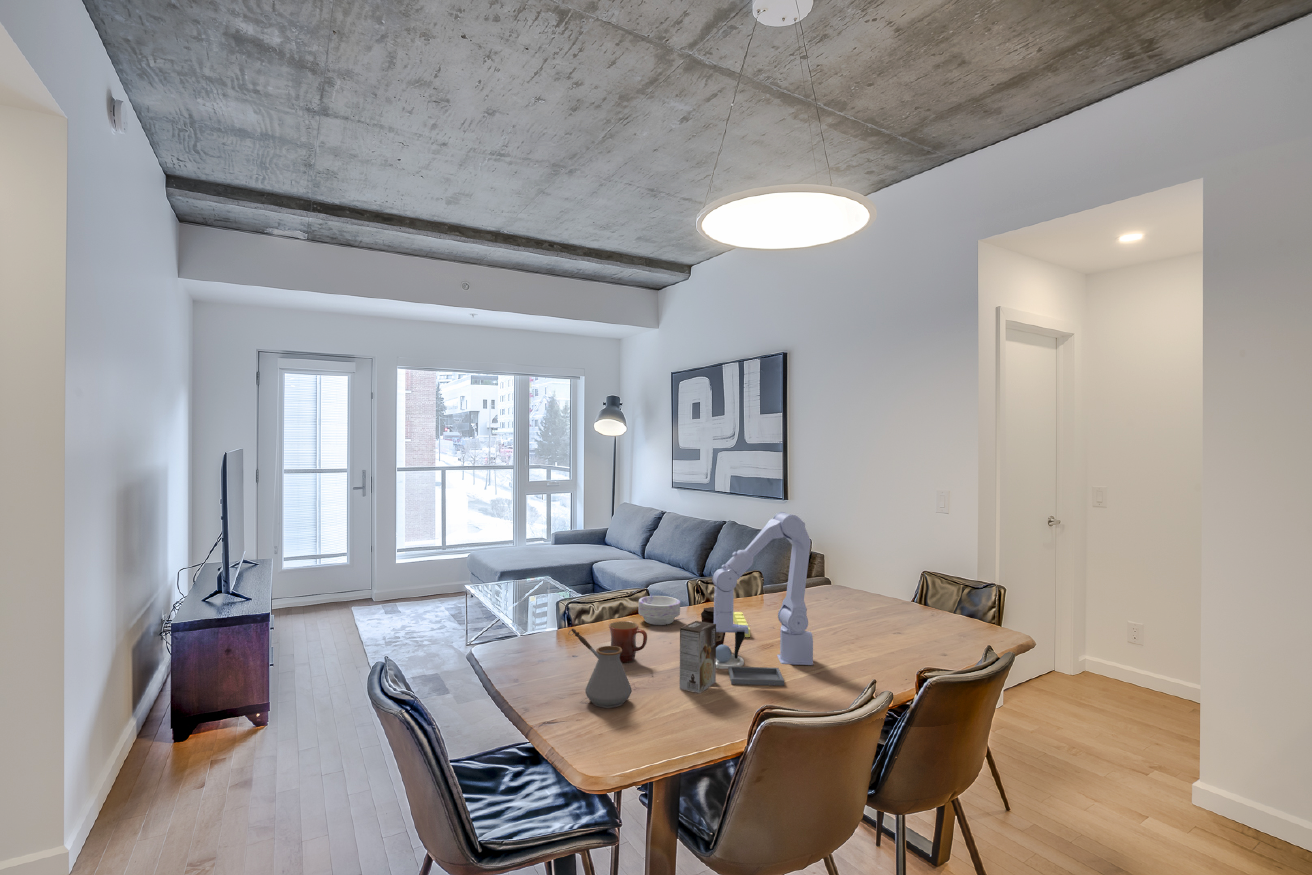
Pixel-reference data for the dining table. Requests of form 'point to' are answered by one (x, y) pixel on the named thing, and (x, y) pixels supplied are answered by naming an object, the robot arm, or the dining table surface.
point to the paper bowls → (659, 609)
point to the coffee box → (697, 656)
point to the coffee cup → (709, 618)
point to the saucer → (730, 662)
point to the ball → (723, 653)
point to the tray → (755, 676)
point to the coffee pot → (607, 677)
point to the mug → (626, 639)
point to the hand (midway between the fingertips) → (722, 656)
